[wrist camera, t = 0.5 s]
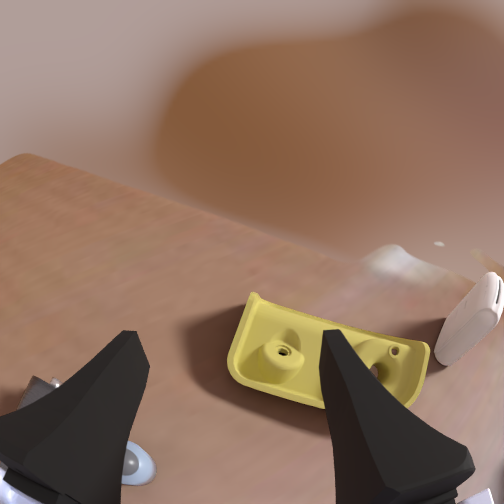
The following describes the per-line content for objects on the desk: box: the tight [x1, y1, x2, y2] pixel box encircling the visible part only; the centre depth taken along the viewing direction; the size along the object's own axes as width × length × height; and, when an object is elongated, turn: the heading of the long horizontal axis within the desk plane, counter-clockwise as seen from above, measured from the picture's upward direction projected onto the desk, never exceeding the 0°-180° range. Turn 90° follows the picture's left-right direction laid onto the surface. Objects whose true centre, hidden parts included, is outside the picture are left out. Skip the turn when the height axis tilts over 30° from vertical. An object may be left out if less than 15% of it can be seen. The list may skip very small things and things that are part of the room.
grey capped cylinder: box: [122, 441, 157, 486], centre depth 18 cm, size 4×4×6 cm
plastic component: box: [227, 292, 430, 409], centre depth 30 cm, size 20×7×10 cm
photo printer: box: [434, 272, 504, 366], centre depth 32 cm, size 10×4×12 cm, turn 136°
